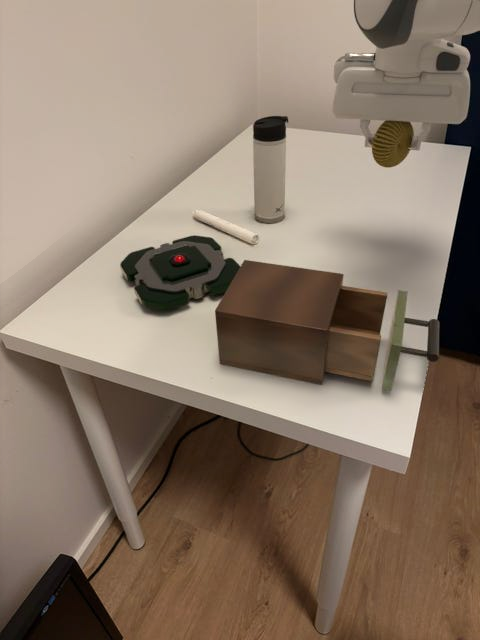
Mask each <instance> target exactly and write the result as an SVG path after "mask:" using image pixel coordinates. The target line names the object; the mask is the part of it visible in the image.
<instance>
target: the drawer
mask: <svg viewBox="0 0 480 640" xmlns="http://www.w3.org/2000/svg"><path fill="white" fill-rule="evenodd" d="M388 294H389V293H388V291H387V292H386V291H380V290H373V289H367V288H360V287H354V286H348V285H347V286H346V285H342V286H341V288H340V292H339V295H338V299H337V302H336V306H335V309H334V313H333V316H332V320H331V323H330V327H329V331H328V339H327V349H326V359H325V369H324V372H325V373H328V374H335V375H339V376H345V377H349V378H353V379H354V378H355V379H358V380H359V379H360V380H364V381H370V382H373V380H374V377H375V376H374V375H375V371H376V365H377V360H378V356H379V355H378V354H379V350H380V345H381V341H382V335H381V330H382V325H383V320H384V315H385V310H386V304H387V300H388ZM407 300H408V291H407V290H402V289H398V291H397V294H396V300H395V304H394V309H393V313H392V319H391V324H390V328H389V332H388V333H389V334H388V341H387V349H386V355H385V363H384V370H383V379H382V384H381V389H382V390H387V391H392V390H393V385H394V381H395V376H396V372H397V370H398V369H397V368H398V364H399V360H400V356H401V354H406V355H413V356H416V357H417V356H418V357H422V358H423V357H424V358H426V360H427V361H428V362H431V363H435V362H437V361H439V360H440V321H439V320H438V319H437V318H431V319H429V320H423V319H416V318H412V317H411V318H410V317H406V311H407V310H406V309H407ZM405 324H407V325H412V326H418V327H424V328H427V339H426V340H427V341H426V350H423V349H418V348H413V347H408V346H407V347H406V346H403V338H404V328H405Z"/></svg>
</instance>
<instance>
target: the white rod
mask: <svg viewBox="0 0 480 640" xmlns="http://www.w3.org/2000/svg"><path fill="white" fill-rule="evenodd" d="M192 215H193V216H194V218H195V219H196V220H198V221H200V222H202V223H203V224H204V223H205V224H207V225H208V226H211V227H213V228H215V229H217V230H220V231H222V232H224V233H227V234H228V235H230V236H233V237H236V238H238V239H239V240H242V241H244V242H245V243H249V244H251V245H256V244H257V243H258V242H259V239H260V237H259V234H257V233H255V232H253V231H251V230H248V229H246V228H244V227H241V226H239V225H237V224H235V223H232V222H230V221H227V220H226V219H222V218H220V217H218V216H216V215H213V214H211V213H209V212H206V211H204V210H201V209H194V210H193V211H192Z"/></svg>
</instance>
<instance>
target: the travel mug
mask: <svg viewBox="0 0 480 640" xmlns="http://www.w3.org/2000/svg"><path fill="white" fill-rule="evenodd" d="M286 123H287V124H289V117H288V116H287V115H270V116H265V117H261V118H258V119H257V120H255V121H254V123H253V124H252V132H253V134H252V153H253V155H252V157H253V158H252V159H253V202H254V206H253V207H254V208H253V209H254V218H255V220H257V221H258V222H260V223H263V224H276V223H278V222H281V221H282V220H284V218H285V208H286V207H285V206H286V165H287V164H286V163H287V162H286V161H287V127H286V126H287V125H286Z"/></svg>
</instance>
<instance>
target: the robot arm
mask: <svg viewBox="0 0 480 640" xmlns="http://www.w3.org/2000/svg"><path fill="white" fill-rule="evenodd" d="M353 15H354V19H355V22H356V24H357V26H358V28H359V30H360V31H361V32H362V34H363V35H364V36H365V38H366V39H367V40H368V41H369V42H370V43H371V44H372V45H374V46H375V52H362V53H354V52H347V53H344V55H342V56H340V57H339V58H338V59H337V60H336V61H335V64H334V67H333V80H334V82H335V84H336V87H335V90H334V95H333V100H332V101H333V102H332V113H333V115H334V117H335V118H336V119H339V120H341V119H342V120H343V119H344V120H359V121H360V122H359V127H360V130H361V132H362V134H363V136H364V138H365V139H364V148H372V143H373V140H375V139H374V137H376V136H375V133H371V130H370V128H369V126H370V123H371V121H383V122H384V121H404V122H410V123H421V131H420V133H419V134H418V135H414V136H413V137H412V142H411V148H410V151H420V150H421V145H422V141H423V140H424V139H425V138H426V136H428V134H429V133H430V132H431V130H432V125H433V124H447V125H448V124H449V125H450V124H452V125H460V124H461V123H463V121H465V120H466V119H467V117H468V112H469V106H470V97H471V79H470V73H469V71H468V67H469V65H470V61H471V54H470V51H469V50H468V48H467V47H465V46H463V45H460V44H457V43H454V42H453V41H452V42H451V41H449V40H446V38H452V37H460V36H466V35H471V34H473V33H476V32H480V0H353Z"/></svg>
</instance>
